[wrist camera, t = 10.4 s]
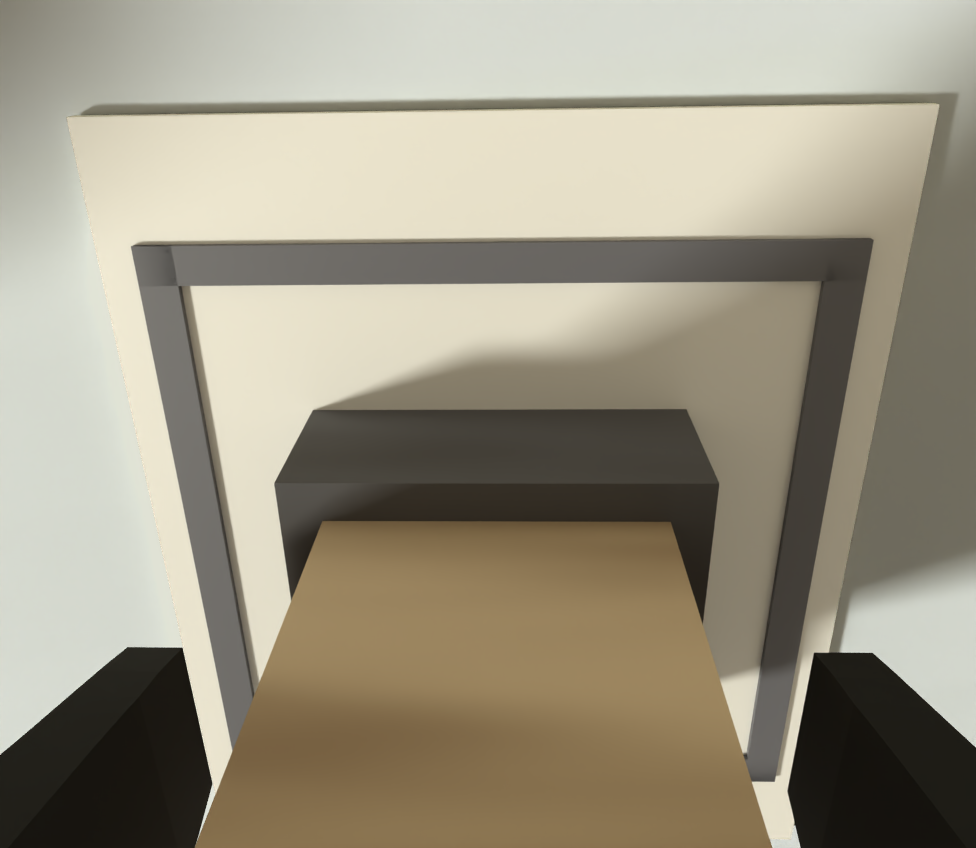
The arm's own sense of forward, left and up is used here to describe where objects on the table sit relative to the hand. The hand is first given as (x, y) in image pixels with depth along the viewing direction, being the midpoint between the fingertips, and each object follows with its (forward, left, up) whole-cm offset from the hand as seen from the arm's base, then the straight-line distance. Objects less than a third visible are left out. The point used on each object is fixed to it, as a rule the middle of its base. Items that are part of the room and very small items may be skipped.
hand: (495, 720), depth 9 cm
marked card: (0, 0, -3) cm, 3 cm away
